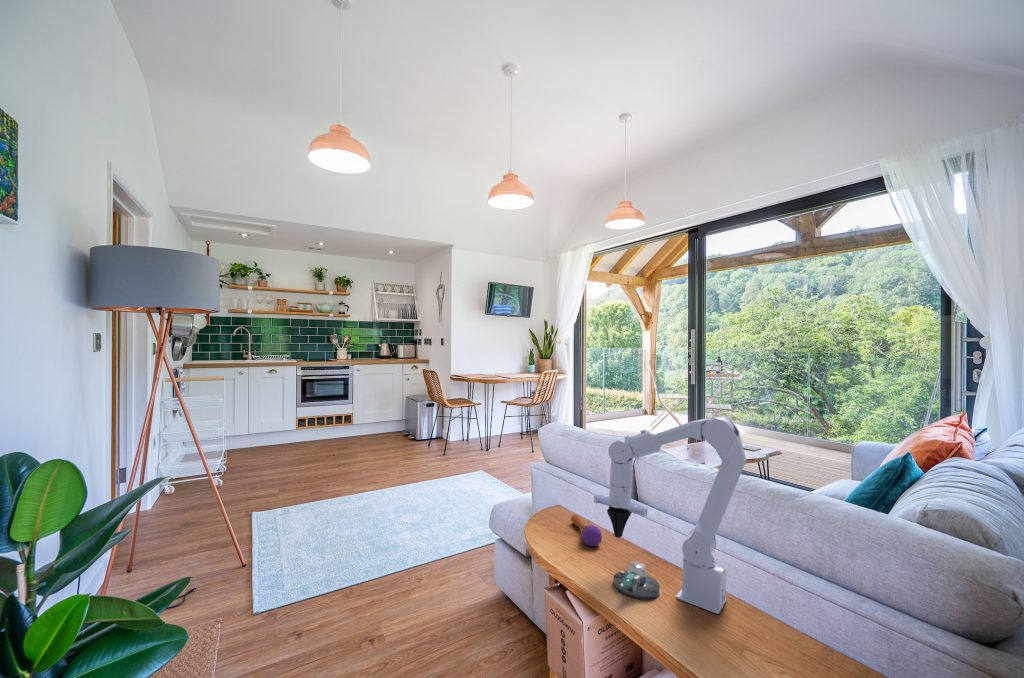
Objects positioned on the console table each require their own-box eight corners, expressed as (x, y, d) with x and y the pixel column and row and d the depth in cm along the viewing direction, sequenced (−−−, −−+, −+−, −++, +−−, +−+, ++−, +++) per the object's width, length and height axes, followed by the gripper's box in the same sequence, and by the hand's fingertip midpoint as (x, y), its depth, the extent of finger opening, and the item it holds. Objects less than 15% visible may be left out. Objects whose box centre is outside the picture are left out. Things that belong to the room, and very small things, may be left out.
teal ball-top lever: (630, 574, 109) (631, 559, 110) (647, 579, 107) (648, 565, 107) (616, 590, 101) (617, 574, 101) (634, 596, 99) (635, 580, 99)
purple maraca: (585, 512, 148) (606, 530, 128) (581, 530, 147) (602, 551, 127) (569, 509, 147) (587, 526, 128) (565, 526, 146) (583, 547, 127)
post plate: (665, 587, 107) (666, 569, 107) (649, 605, 98) (650, 585, 99) (624, 572, 114) (625, 555, 114) (605, 587, 105) (606, 569, 106)
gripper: (589, 481, 116) (587, 532, 116) (641, 494, 107) (638, 549, 107) (601, 477, 122) (599, 525, 121) (651, 488, 113) (649, 541, 112)
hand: (618, 536), depth 114 cm, fingers closed
